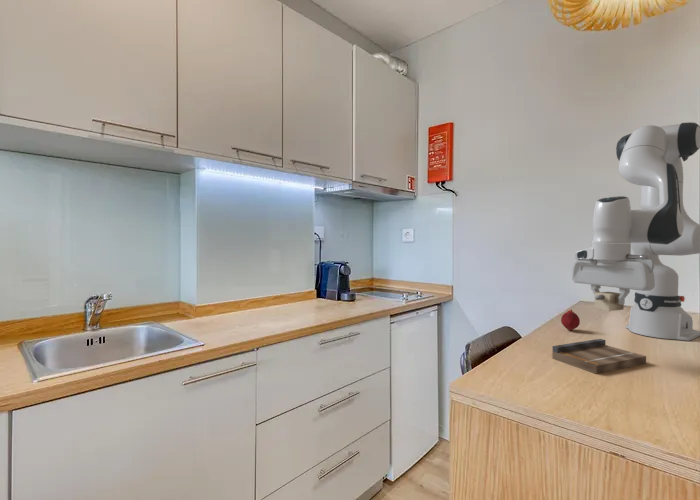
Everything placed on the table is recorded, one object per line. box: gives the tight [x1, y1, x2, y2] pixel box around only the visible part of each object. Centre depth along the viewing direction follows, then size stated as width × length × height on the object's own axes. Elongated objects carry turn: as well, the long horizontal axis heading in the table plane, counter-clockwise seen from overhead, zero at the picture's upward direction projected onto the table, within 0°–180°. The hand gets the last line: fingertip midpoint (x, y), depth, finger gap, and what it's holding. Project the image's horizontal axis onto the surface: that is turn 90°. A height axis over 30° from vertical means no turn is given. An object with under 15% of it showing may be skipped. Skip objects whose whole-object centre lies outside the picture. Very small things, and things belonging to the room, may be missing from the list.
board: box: [551, 338, 647, 375], centre depth 95 cm, size 20×12×4 cm, turn 111°
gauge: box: [594, 291, 625, 312], centre depth 98 cm, size 10×4×4 cm, turn 111°
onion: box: [560, 308, 581, 332], centre depth 126 cm, size 6×6×8 cm
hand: (609, 302), depth 98 cm, fingers closed on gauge, 4 cm apart
